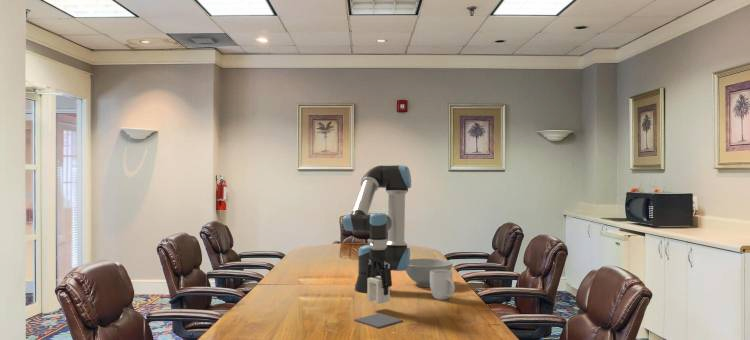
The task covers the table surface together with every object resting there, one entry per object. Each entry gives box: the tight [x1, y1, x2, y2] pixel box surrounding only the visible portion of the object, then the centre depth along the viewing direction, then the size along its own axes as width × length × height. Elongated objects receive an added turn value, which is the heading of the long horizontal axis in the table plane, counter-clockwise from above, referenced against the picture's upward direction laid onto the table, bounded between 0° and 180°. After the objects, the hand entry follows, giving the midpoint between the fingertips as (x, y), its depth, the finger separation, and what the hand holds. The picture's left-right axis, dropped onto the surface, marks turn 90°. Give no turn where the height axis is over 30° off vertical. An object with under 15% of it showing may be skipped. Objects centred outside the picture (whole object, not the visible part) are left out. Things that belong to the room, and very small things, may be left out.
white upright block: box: [366, 276, 391, 305], centre depth 226 cm, size 7×7×10 cm
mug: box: [429, 269, 456, 301], centre depth 246 cm, size 15×11×13 cm
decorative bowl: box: [405, 258, 454, 288], centre depth 279 cm, size 27×27×12 cm
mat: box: [353, 313, 404, 329], centre depth 209 cm, size 14×14×1 cm
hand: (378, 300), depth 226 cm, fingers closed on white upright block, 7 cm apart
